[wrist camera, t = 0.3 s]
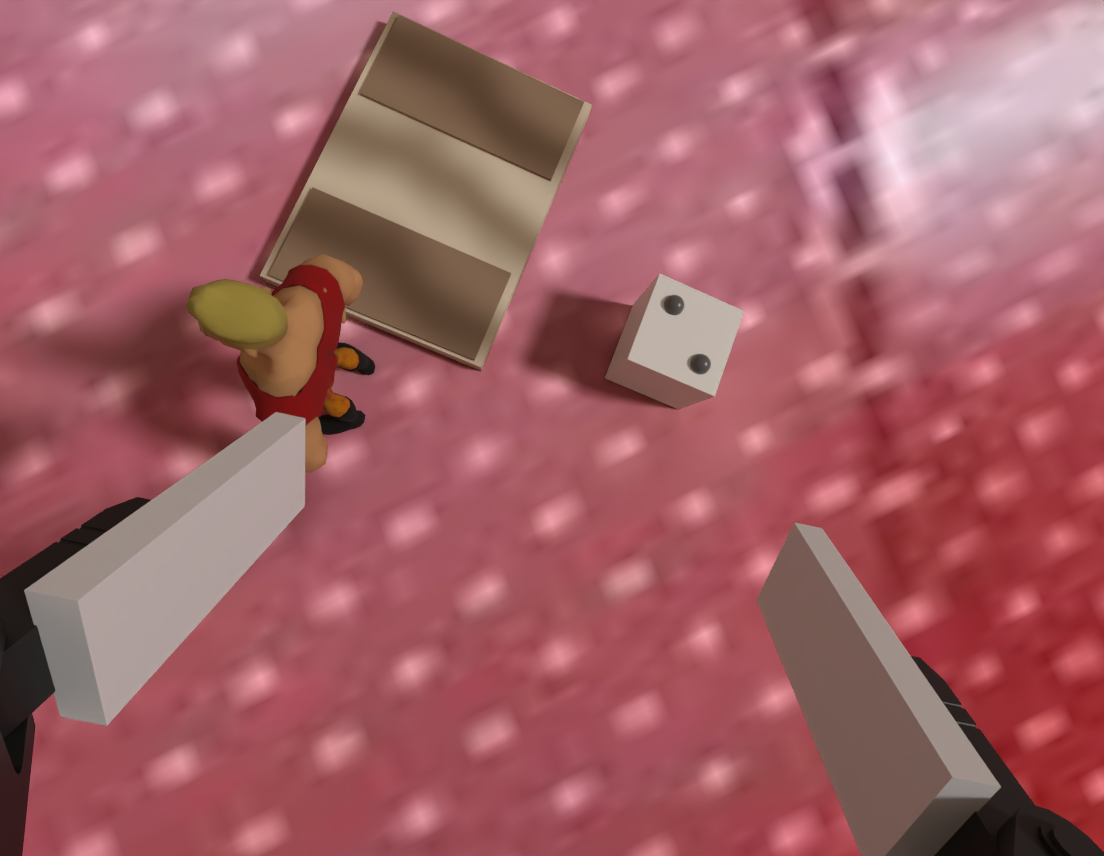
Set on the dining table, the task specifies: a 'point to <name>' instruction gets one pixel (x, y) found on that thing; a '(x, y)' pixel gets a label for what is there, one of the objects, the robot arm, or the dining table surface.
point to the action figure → (290, 344)
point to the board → (434, 189)
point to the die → (675, 344)
